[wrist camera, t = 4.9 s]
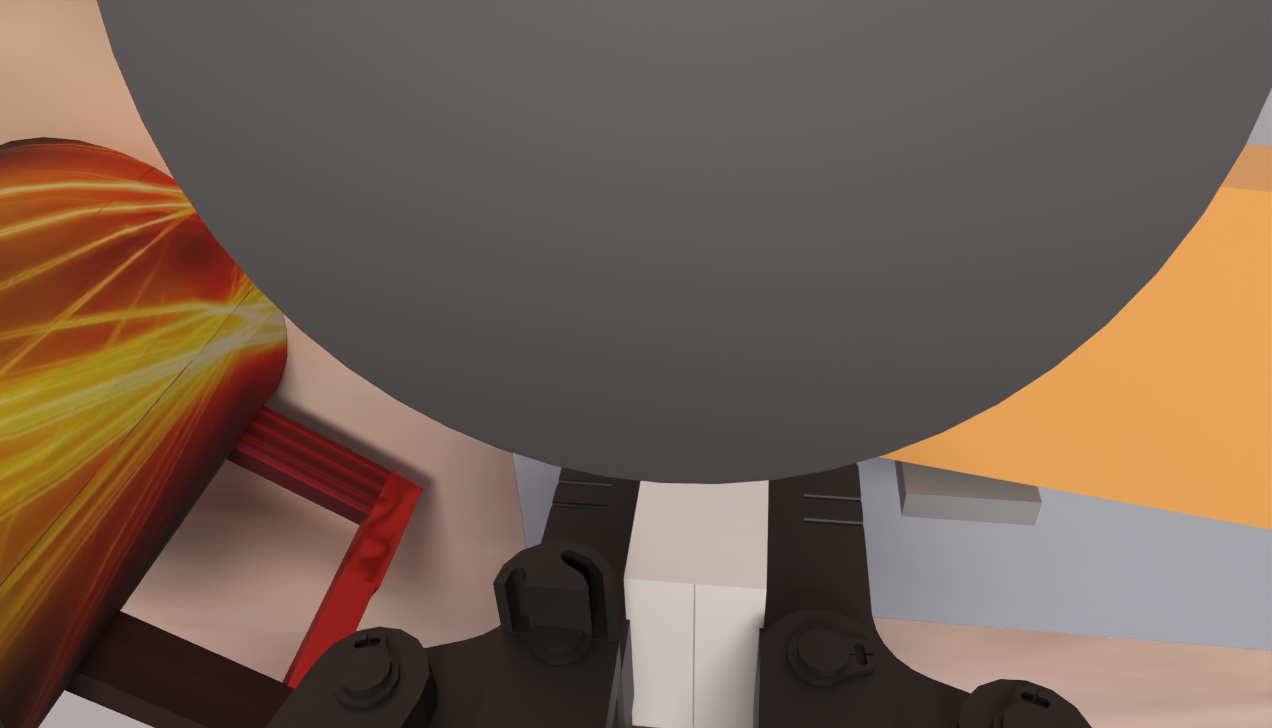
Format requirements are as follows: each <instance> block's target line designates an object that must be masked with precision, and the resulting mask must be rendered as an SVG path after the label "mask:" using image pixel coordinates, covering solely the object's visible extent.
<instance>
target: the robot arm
mask: <svg viewBox="0 0 1272 728" xmlns="http://www.w3.org/2000/svg"><path fill="white" fill-rule="evenodd" d="M493 585H494V590H495V596H496V601H497V606H498V612H499V617H500V622H501V625H500V626H498V627H497V628H495V629H493V630H491V631H489V632H487V633H485V634H483V635H480V636H477V637H474V638H471V639H467V640H464V641H459V642H454V643H449V644H444V645H439V646H434V647H429V648H423V647H422V645H421V643H420V642H419V640H418V639H417V638H415V637H413V636H411V635H410V634H408V633H406V632H404V631H403V630H401V629H393V628H384V627H376V628H371V629H366V630H361V631H356V632H354V633H352V634H350V635H348V636H346V637H345V638H343V639H341V640H339V641H337V642H335V643H333V644H332V645H331V646H330V647H329V648H328V649H327V650H326V651H325V652H324V653H323V654H322V655H321V656H320V657H319V658H318V659H317V660H316V661H315V662H314V664H313V665H312V666H311V668H310V669H309V670H308V672H307V673H306V674H305V676H304V677H303V678H302V680H301V681H300V682H299V684H298V685H297V686H296V688H295V689H294V690H293V692H292V693H291V694H290V696H289V697H288V698H287V700H286V701H285V702H284V703H283V705H282V706H281V707H280V709H279V710H278V711H277V713H276V714H275V715H274V717H273V718H272V719H271V721H270V722H269V723H268V725H267V726H266V727H265V728H630V722H631V715H632V725H636V726H646V727H657V728H1092V727H1091V726H1090V725H1089V723H1088V722H1087V721H1086V720H1085V718H1084V717H1083V716H1082V714H1081V713H1080V712H1079V711H1078V709H1077V708H1076V707H1075V706H1074V705H1072V704H1071V703H1069V702H1068V701H1067V700H1065V699H1064V698H1062V697H1061V696H1060V695H1058V694H1057V693H1055V692H1054V691H1053V690H1050V689H1048V688H1045V687H1042V686H1039V685H1037V684H1034V683H1031V682H1028V681H1025V680H1007V679H999V680H996V681H993V682H990V683H987V684H984V685H981V686H978V687H977V688H976V689H975V690H974V691H973V692H972V693H971V694H970V693H968V692H965V691H962V690H960V689H957V688H954V687H952V686H949V685H947V684H944V683H941V682H939V681H936V680H933V679H931V678H929V677H927V676H925V675H922V674H920V673H918V672H916V671H914V670H912V669H911V668H910V667H908V666H907V665H905V664H904V663H903V662H901V661H900V660H899V659H897V658H896V657H895V656H894V655H893V653H892V652H891V651H890V650H889V649H888V648H887V647H886V646H885V644H884V643H883V641H882V639H881V638H880V636H879V634H878V632H877V630H876V628H875V624H874V620H873V616H872V608H871V597H870V586H869V575H868V564H867V554H866V543H865V532H864V527H863V510H862V502H861V488H860V478H859V467H858V465H857V464H856V463H854V464H850V465H847V466H843V467H839V468H836V469H832V470H828V471H822V472H817V473H811V474H805V475H799V476H793V477H788V478H782V479H776V480H767V481H754V482H740V483H727V484H681V483H656V482H648V481H639V480H630V479H622V478H613V477H605V476H601V475H596V474H591V473H587V472H582V471H577V470H573V469H568V468H563V467H562V468H561V472H560V475H559V482H558V484H557V486H556V490H555V494H554V497H553V501H552V507H551V508H550V512H549V515H548V519H547V523H546V526H545V530H544V534H543V537H542V541H541V543H540V544H538V545H535V546H533V547H530V548H527V549H525V550H522V551H520V552H519V553H518V554H516V555H515V556H514V557H513V558H511V559H510V560H509V561H508V562H507V563H505V564H504V565H503V567H502V568H501V570H500V572H499V574H498V575H497V577H496V579H495V581H494V582H493Z"/></svg>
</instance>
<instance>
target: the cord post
mask: <svg viewBox="0 0 1272 728" xmlns="http://www.w3.org/2000/svg"><path fill="white" fill-rule="evenodd" d="M97 2H98V6H99V9H100V12H101V16H102V19H103V22H104V25H105V29H106V32H107V35H108V38H109V42H110V45H111V48H112V51H113V54H114V56H115V59H116V61H117V63H118V66H119V68H120V70H121V73H122V75H123V78H124V80H125V82H126V85H127V87H128V89H129V92H130V94H131V96H132V99H133V101H134V103H135V106H136V108H137V110H138V113H139V115H140V117H141V120H142V122H143V123H144V125H145V127H146V129H147V131H148V133H149V134H150V136H151V138H152V140H153V142H154V143H155V145H156V147H157V149H158V151H159V152H160V154H161V156H162V158H163V160H164V161H165V163H166V165H167V167H168V169H169V170H170V172H171V174H172V176H173V178H174V179H175V181H176V183H177V184H178V186H179V187H180V189H181V190H182V192H183V193H184V194H185V196H186V197H187V199H188V200H189V202H190V203H191V205H192V206H193V207H194V209H195V210H196V212H197V213H198V215H199V216H200V217H201V219H202V220H203V222H204V223H205V225H206V226H207V228H208V229H209V230H210V232H211V233H212V235H213V236H214V238H215V239H216V240H217V241H218V242H219V244H220V245H221V246H222V247H223V248H224V249H225V251H226V252H227V253H228V254H229V255H230V256H231V258H232V259H233V260H234V261H235V262H236V264H237V265H238V266H239V267H240V268H241V269H242V271H243V272H244V273H245V274H246V275H247V277H248V278H249V279H250V280H251V281H252V282H253V284H254V285H255V286H256V287H257V288H258V289H259V290H260V291H261V292H262V293H263V294H264V295H265V296H266V297H267V298H268V299H269V300H270V301H271V302H272V303H273V304H274V305H275V306H277V307H278V308H279V309H280V310H281V311H282V312H283V313H284V314H285V315H286V316H287V317H288V318H289V319H290V320H291V321H292V322H293V323H294V324H295V325H296V326H297V327H298V328H299V329H300V330H301V331H303V332H304V333H305V334H306V335H308V336H309V337H310V338H311V339H313V340H314V341H315V342H316V343H318V344H319V345H320V346H321V347H323V348H324V349H325V350H326V351H327V352H329V353H330V354H331V355H332V356H334V357H335V358H336V359H337V360H339V361H340V362H341V363H342V364H344V365H345V366H346V367H347V368H349V369H350V370H352V371H353V372H355V373H356V374H358V375H360V376H361V377H363V378H364V379H366V380H367V381H369V382H370V383H372V384H373V385H375V386H376V387H378V388H379V389H381V390H382V391H384V392H385V393H387V394H388V395H390V396H391V397H393V398H394V399H396V400H398V401H400V402H401V403H403V404H405V405H407V406H409V407H411V408H413V409H415V410H416V411H418V412H420V413H422V414H424V415H426V416H428V417H430V418H431V419H433V420H435V421H437V422H439V423H441V424H443V425H445V426H446V427H449V428H451V429H454V430H456V431H458V432H461V433H463V434H465V435H468V436H470V437H473V438H475V439H477V440H480V441H482V442H485V443H487V444H489V445H492V446H494V447H497V448H499V449H502V450H505V451H508V452H512V453H515V454H518V455H521V456H524V457H528V458H531V459H534V460H537V461H540V462H544V463H547V464H550V465H554V466H558V467H563V468H568V469H573V470H577V471H582V472H587V473H591V474H596V475H601V476H605V477H613V478H622V479H630V480H639V481H648V482H656V483H681V484H727V483H740V482H754V481H767V480H776V479H782V478H788V477H793V476H799V475H805V474H811V473H817V472H822V471H828V470H832V469H836V468H839V467H843V466H847V465H850V464H854V463H857V462H861V461H865V460H868V459H872V458H876V457H879V456H883V455H886V454H889V453H891V452H894V451H897V450H899V449H902V448H904V447H907V446H909V445H912V444H915V443H917V442H920V441H922V440H925V439H927V438H930V437H933V436H935V435H938V434H940V433H943V432H945V431H947V430H949V429H951V428H953V427H955V426H957V425H959V424H960V423H962V422H964V421H966V420H968V419H970V418H972V417H974V416H976V415H978V414H980V413H982V412H984V411H986V410H988V409H990V408H992V407H994V406H996V405H998V404H999V403H1001V402H1002V401H1004V400H1005V399H1007V398H1009V397H1010V396H1012V395H1013V394H1015V393H1016V392H1018V391H1019V390H1021V389H1022V388H1024V387H1025V386H1027V385H1028V384H1030V383H1032V382H1033V381H1035V380H1036V379H1038V378H1039V377H1041V376H1042V375H1044V374H1045V373H1047V372H1048V371H1050V370H1052V369H1053V368H1054V367H1056V366H1057V365H1058V364H1059V363H1060V362H1062V361H1063V360H1064V359H1065V358H1067V357H1068V356H1069V355H1070V354H1072V353H1073V352H1074V351H1075V350H1076V349H1078V348H1079V347H1080V346H1081V345H1083V344H1084V343H1085V342H1086V341H1087V340H1089V339H1090V338H1091V337H1092V336H1094V335H1095V334H1096V333H1097V332H1098V331H1100V330H1101V329H1102V328H1103V327H1105V326H1106V325H1107V324H1108V323H1109V322H1110V321H1111V320H1112V319H1113V318H1114V317H1115V316H1116V315H1117V314H1118V313H1119V312H1120V311H1121V310H1122V309H1123V308H1124V307H1125V306H1126V305H1127V304H1128V303H1129V302H1130V301H1131V300H1132V299H1133V297H1134V296H1135V295H1136V294H1137V293H1138V292H1139V291H1140V290H1141V289H1142V288H1143V287H1144V286H1145V285H1146V284H1147V283H1148V282H1149V281H1150V280H1151V279H1152V278H1153V277H1154V276H1155V275H1156V274H1157V273H1158V272H1159V270H1160V269H1161V268H1162V267H1163V265H1164V264H1165V263H1166V261H1167V260H1168V259H1169V258H1170V256H1171V255H1172V254H1173V252H1174V251H1175V250H1176V249H1177V247H1178V246H1179V245H1180V244H1181V242H1182V241H1183V240H1184V238H1185V237H1186V236H1187V235H1188V233H1189V232H1190V231H1191V230H1192V228H1193V227H1194V226H1195V224H1196V223H1197V222H1198V221H1199V219H1200V218H1201V217H1202V215H1203V214H1204V213H1205V211H1206V209H1207V208H1208V206H1209V204H1210V203H1211V201H1212V200H1213V198H1214V196H1215V195H1216V193H1217V191H1218V190H1219V188H1220V186H1221V185H1222V183H1223V182H1224V180H1225V178H1226V177H1227V175H1228V173H1229V172H1230V170H1231V168H1232V167H1233V165H1234V164H1235V162H1236V160H1237V159H1238V157H1239V155H1240V154H1241V152H1242V150H1243V149H1244V147H1245V146H1246V143H1247V141H1248V139H1249V137H1250V135H1251V132H1252V130H1253V128H1254V126H1255V124H1256V122H1257V119H1258V117H1259V115H1260V113H1261V111H1262V108H1263V106H1264V104H1265V102H1266V100H1267V97H1268V95H1269V93H1270V91H1271V89H1272V0H97Z"/></svg>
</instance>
